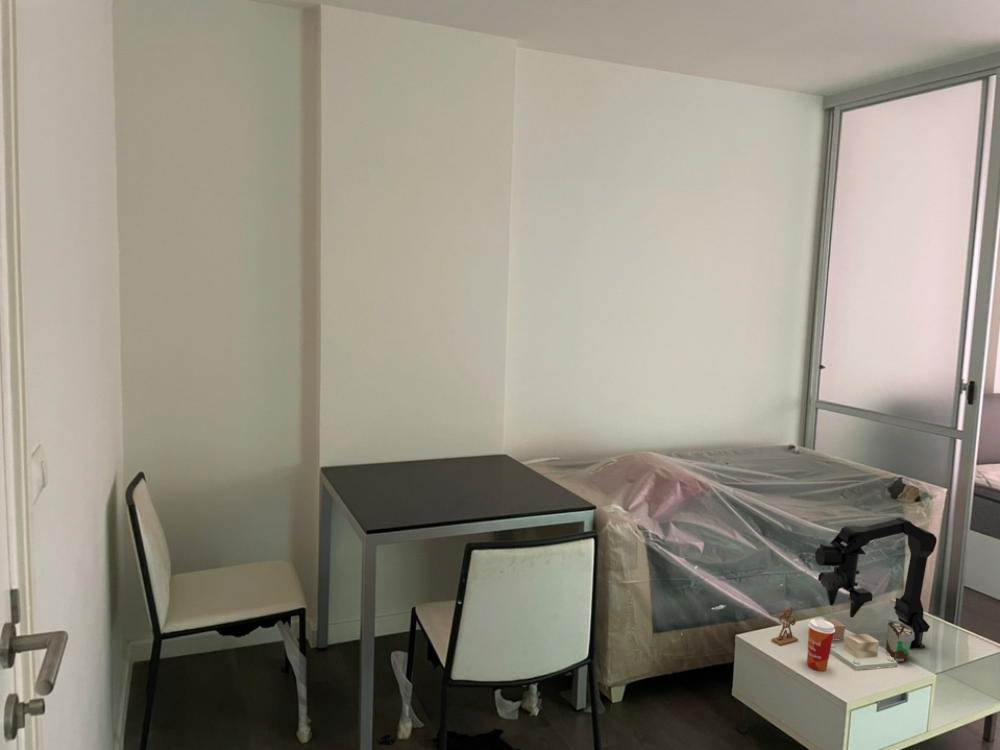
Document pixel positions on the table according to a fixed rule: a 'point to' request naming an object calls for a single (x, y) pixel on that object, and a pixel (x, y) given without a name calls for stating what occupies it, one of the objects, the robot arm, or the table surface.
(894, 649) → the food container
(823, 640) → the paper cup
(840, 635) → the terracotta brick
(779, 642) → the brown figurine
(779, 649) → the table surface
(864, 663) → the build plate
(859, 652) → the birch brick
